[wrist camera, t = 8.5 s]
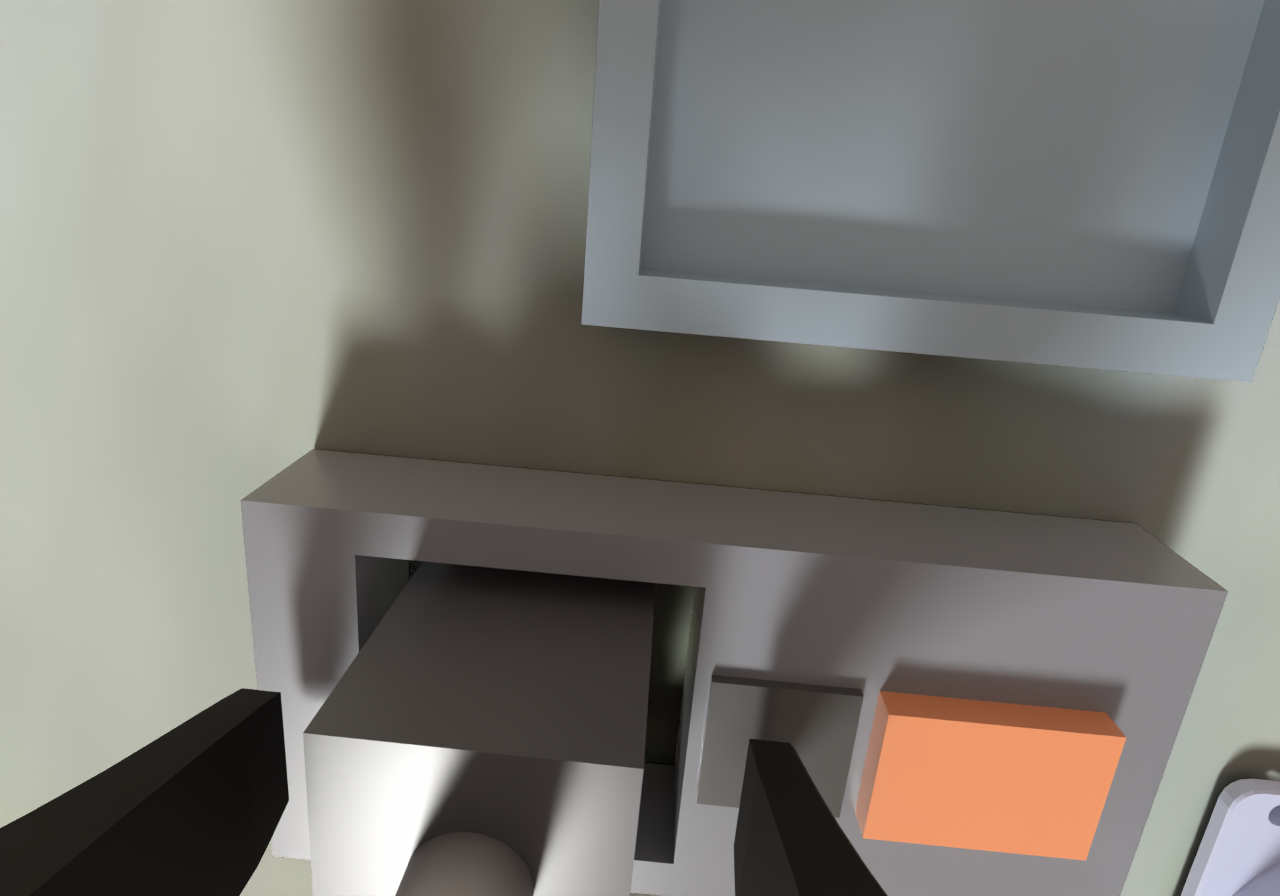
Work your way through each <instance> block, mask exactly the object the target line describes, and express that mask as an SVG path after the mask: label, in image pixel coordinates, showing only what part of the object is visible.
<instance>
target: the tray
mask: <svg viewBox="0 0 1280 896" xmlns="http://www.w3.org/2000/svg"><path fill="white" fill-rule="evenodd" d="M1279 299H1280V0H599V14H598V32H597V50H596V69H595V87H594V105H593V124H592V142H591V160H590V179H589V197H588V215H587V234H586V252H585V270H584V288H583V307H582V325H593V326H605V327H616V328H628V329H639V330H651V331H662V332H674V333H686V334H697V335H709V336H720V337H732V338H743V339H755V340H767V341H778V342H790V343H801V344H813V345H824V346H836V347H848V348H859V349H871V350H882V351H894V352H905V353H917V354H929V355H940V356H952V357H963V358H975V359H987V360H998V361H1010V362H1021V363H1033V364H1044V365H1056V366H1068V367H1079V368H1091V369H1102V370H1114V371H1125V372H1137V373H1149V374H1160V375H1172V376H1183V377H1195V378H1206V379H1218V380H1230V381H1241V382H1252V380H1253V377H1254V374H1255V371H1256V368H1257V365H1258V362H1259V359H1260V356H1261V353H1262V350H1263V347H1264V344H1265V341H1266V338H1267V335H1268V332H1269V329H1270V326H1271V323H1272V320H1273V317H1274V314H1275V311H1276V308H1277V305H1278V302H1279Z"/></svg>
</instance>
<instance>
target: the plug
mask: <svg viewBox="0 0 1280 896" xmlns="http://www.w3.org/2000/svg"><path fill="white" fill-rule="evenodd" d="M655 587H656V583H650V582H639V581H629V580H618V579H607V578H597V577H586V576H575V575H565V574H554V573H543V572H532V571H522V570H511V569H500V568H490V567H479V566H468V565H457V564H447V563H436V562H425V561H422V562H421V564H420V565H419V567H418V568H417V570H416V571H415V573H414V574H413V575H412V577H411V578H410V580H409V581H408V583H407V584H406V585H405V587H404V588H403V590H402V591H401V593H400V594H399V596H398V597H397V598H396V600H395V601H394V603H393V604H392V606H391V607H390V609H389V610H388V611H387V613H386V614H385V616H384V617H383V619H382V620H381V621H380V623H379V624H378V626H377V627H376V629H375V630H374V632H373V633H372V634H371V636H370V637H369V639H368V640H367V642H366V643H365V645H364V646H363V647H362V649H361V650H360V652H359V653H358V655H357V656H356V657H355V659H354V660H353V662H352V663H351V665H350V666H349V668H348V669H347V670H346V672H345V673H344V675H343V676H342V678H341V679H340V680H339V682H338V683H337V685H336V686H335V688H334V689H333V691H332V692H331V693H330V695H329V696H328V698H327V699H326V701H325V702H324V704H323V705H322V706H321V708H320V709H319V711H318V712H317V714H316V715H315V716H314V718H313V719H312V721H311V722H310V724H309V725H308V727H307V728H306V729H305V731H304V732H303V742H304V759H305V775H306V792H307V808H308V825H309V841H310V858H311V874H312V891H313V896H630V893H631V883H632V874H633V865H634V855H635V846H636V836H637V827H638V818H639V808H640V799H641V789H642V780H643V771H644V756H645V741H646V725H647V710H648V695H649V679H650V664H651V648H652V633H653V617H654V602H655Z"/></svg>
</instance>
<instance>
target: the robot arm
mask: <svg viewBox="0 0 1280 896" xmlns="http://www.w3.org/2000/svg"><path fill="white" fill-rule="evenodd" d="M288 802H289V791H288V778H287V765H286V753H285V740H284V727H283V714H282V702H281V692H272V691H262V690H252V689H240V690H238V691H236V692H235V693H233V694H231V695H229V696H227V697H226V698H224V699H222V700H220V701H219V702H217V703H215V704H214V705H212V706H210V707H209V708H207V709H205V710H204V711H202V712H201V713H199V714H197V715H196V716H194V717H192V718H191V719H189V720H187V721H186V722H184V723H183V724H181V725H179V726H178V727H176V728H174V729H173V730H171V731H170V732H168V733H166V734H165V735H163V736H161V737H160V738H158V739H157V740H155V741H153V742H152V743H150V744H148V745H147V746H145V747H143V748H142V749H140V750H138V751H137V752H135V753H133V754H132V755H130V756H128V757H127V758H125V759H123V760H122V761H120V762H118V763H117V764H115V765H114V766H112V767H110V768H108V769H107V770H105V771H103V772H102V773H100V774H98V775H96V776H94V777H93V778H91V779H89V780H87V781H86V782H84V783H82V784H80V785H78V786H77V787H75V788H73V789H71V790H69V791H68V792H66V793H64V794H62V795H61V796H59V797H57V798H55V799H53V800H52V801H50V802H48V803H46V804H45V805H43V806H41V807H39V808H37V809H36V810H34V811H32V812H30V813H28V814H27V815H25V816H23V817H21V818H19V819H17V820H15V821H13V822H11V823H9V824H8V825H6V826H4V827H2V828H0V896H239V895H240V894H241V892H242V890H243V889H244V887H245V886H246V884H247V882H248V881H249V879H250V878H251V876H252V874H253V873H254V871H255V869H256V868H257V866H258V864H259V862H260V860H261V858H262V856H263V854H264V852H265V850H266V848H267V846H268V844H269V842H270V840H271V838H272V836H273V834H274V832H275V830H276V828H277V825H278V823H279V821H280V819H281V817H282V815H283V812H284V810H285V808H286V806H287V804H288ZM1278 805H1279V806H1278ZM1276 806H1278V807H1276ZM1274 807H1276V808H1274ZM1273 808H1274V809H1273ZM734 878H735V896H888V895H887V894H886V893H885V891H884V890H883V889H882V887H881V886H880V884H879V883H878V882H877V880H876V879H875V877H874V876H873V875H872V873H871V872H870V870H869V869H868V867H867V866H866V865H865V863H864V862H863V860H862V859H861V857H860V856H859V854H858V853H857V851H856V850H855V848H854V847H853V845H852V844H851V842H850V841H849V839H848V838H847V836H846V835H845V833H844V832H843V830H842V829H841V827H840V825H839V824H838V822H837V821H836V819H835V817H834V816H833V814H832V813H831V811H830V809H829V808H828V806H827V804H826V803H825V801H824V799H823V798H822V796H821V794H820V793H819V791H818V789H817V787H816V786H815V784H814V782H813V781H812V779H811V777H810V775H809V773H808V772H807V770H806V768H805V766H804V764H803V763H802V761H801V759H800V757H799V755H798V753H797V751H796V750H795V748H794V747H793V746H792V745H791V744H790V743H788V742H777V741H767V740H757V739H749V745H748V752H747V758H746V765H745V772H744V779H743V786H742V792H741V799H740V806H739V813H738V820H737V826H736V833H735V840H734ZM1181 896H1280V781H1271V780H1261V779H1241V780H1238V781H1235V782H1232V783H1231V784H1229V785H1228V786H1227V787H1225V788H1224V789H1223V791H1222V792H1221V794H1220V796H1219V798H1218V800H1217V803H1216V805H1215V808H1214V811H1213V813H1212V816H1211V818H1210V821H1209V823H1208V826H1207V829H1206V831H1205V834H1204V836H1203V839H1202V842H1201V844H1200V847H1199V849H1198V852H1197V855H1196V857H1195V860H1194V862H1193V865H1192V867H1191V870H1190V873H1189V875H1188V878H1187V880H1186V883H1185V886H1184V888H1183V891H1182V893H1181Z"/></svg>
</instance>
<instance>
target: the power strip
mask: <svg viewBox="0 0 1280 896" xmlns="http://www.w3.org/2000/svg"><path fill="white" fill-rule="evenodd" d="M241 510H242V522H243V533H244V544H245V555H246V566H247V577H248V588H249V599H250V611H251V622H252V633H253V644H254V655H255V666H256V677H257V688H258V690H262V691H272V692H281V702H282V714H283V727H284V740H285V753H286V765H287V778H288V791H289V802H288V804H287V806H286V808H285V810H284V812H283V815H282V817H281V819H280V821H279V823H278V825H277V828H276V830H275V832H274V834H273V836H272V838H271V844H272V855H273V856H277V857H287V858H297V859H307V860H311V858H310V841H309V825H308V808H307V792H306V775H305V759H304V742H303V732H304V731H305V729H306V728H307V727H308V725H309V724H310V722H311V721H312V719H313V718H314V716H315V715H316V714H317V712H318V711H319V709H320V708H321V706H322V705H323V704H324V702H325V701H326V699H327V698H328V696H329V695H330V693H331V692H332V691H333V689H334V688H335V686H336V685H337V683H338V682H339V680H340V679H341V678H342V676H343V675H344V673H345V672H346V670H347V669H348V668H349V666H350V665H351V663H352V662H353V660H354V659H355V657H356V656H357V655H358V653H359V652H360V650H361V649H362V647H363V646H364V645H365V643H366V642H367V640H368V639H369V637H370V636H371V634H372V633H373V632H374V630H375V629H376V627H377V626H378V624H379V623H380V621H381V620H382V619H383V617H384V616H385V614H386V613H387V611H388V610H389V609H390V607H391V606H392V604H393V603H394V601H395V600H396V598H397V597H398V596H399V594H400V593H401V591H402V590H403V588H404V587H405V585H406V584H407V583H408V581H409V560H415V561H425V562H436V563H447V564H457V565H468V566H479V567H490V568H500V569H511V570H522V571H532V572H543V573H554V574H565V575H575V576H586V577H597V578H607V579H618V580H629V581H639V582H650V583H661V584H672V585H682V586H693V587H695V588H694V596H693V605H692V614H691V623H690V632H689V641H688V650H687V659H686V668H685V677H684V686H683V694H682V703H681V712H680V721H679V730H678V739H677V748H676V757H675V766H673V765H663V764H653V763H644V771H643V780H642V789H641V799H640V808H639V818H638V827H637V836H636V846H635V855H634V865H633V874H632V883H631V893H640V894H650V895H660V896H735V878H734V840H735V833H736V826H737V820H738V813H739V806H740V799H741V792H742V786H743V779H744V772H745V765H746V758H747V752H748V745H749V739H757V740H767V741H777V742H788V743H790V744H791V745H792V746H793V747H794V748H795V750H796V751H797V753H798V755H799V757H800V759H801V761H802V763H803V764H804V766H805V768H806V770H807V772H808V773H809V775H810V777H811V779H812V781H813V782H814V784H815V786H816V787H817V789H818V791H819V793H820V794H821V796H822V798H823V799H824V801H825V803H826V804H827V806H828V808H829V809H830V811H831V813H832V814H833V816H834V817H835V819H836V821H837V822H838V824H839V825H840V827H841V829H842V830H843V832H844V833H845V835H846V836H847V838H848V839H849V841H850V842H851V844H852V845H853V847H854V848H855V850H856V851H857V853H858V854H859V856H860V857H861V859H862V860H863V862H864V863H865V865H866V866H867V867H868V869H869V870H870V872H871V873H872V875H873V876H874V877H875V879H876V880H877V882H878V883H879V884H880V886H881V887H882V889H883V890H884V891H885V893H886V894H887V895H888V896H1120V895H1121V892H1122V889H1123V886H1124V883H1125V881H1126V878H1127V875H1128V872H1129V869H1130V866H1131V864H1132V861H1133V858H1134V855H1135V852H1136V850H1137V847H1138V844H1139V841H1140V838H1141V835H1142V833H1143V830H1144V827H1145V824H1146V821H1147V818H1148V816H1149V813H1150V810H1151V807H1152V804H1153V802H1154V799H1155V796H1156V793H1157V790H1158V787H1159V785H1160V782H1161V779H1162V776H1163V773H1164V771H1165V768H1166V765H1167V762H1168V759H1169V756H1170V754H1171V751H1172V748H1173V745H1174V742H1175V740H1176V737H1177V734H1178V731H1179V728H1180V725H1181V723H1182V720H1183V717H1184V714H1185V711H1186V709H1187V706H1188V703H1189V700H1190V697H1191V694H1192V692H1193V689H1194V686H1195V683H1196V680H1197V677H1198V675H1199V672H1200V669H1201V666H1202V663H1203V661H1204V658H1205V655H1206V652H1207V649H1208V646H1209V644H1210V641H1211V638H1212V635H1213V632H1214V630H1215V627H1216V624H1217V621H1218V618H1219V615H1220V613H1221V610H1222V607H1223V604H1224V601H1225V599H1226V596H1227V593H1228V591H1227V590H1225V589H1224V588H1223V587H1221V586H1220V585H1219V584H1217V583H1216V582H1215V581H1213V580H1212V579H1211V578H1209V577H1208V576H1206V575H1205V574H1204V573H1202V572H1201V571H1200V570H1198V569H1197V568H1196V567H1194V566H1193V565H1192V564H1190V563H1189V562H1187V561H1186V560H1185V559H1183V558H1182V557H1181V556H1179V555H1178V554H1177V553H1175V552H1174V551H1173V550H1171V549H1170V548H1168V547H1167V546H1166V545H1164V544H1163V543H1162V542H1160V541H1159V540H1158V539H1156V538H1155V537H1154V536H1152V535H1151V534H1149V533H1148V532H1147V531H1145V530H1144V529H1143V528H1141V527H1140V526H1139V525H1137V524H1134V523H1123V522H1112V521H1101V520H1090V519H1079V518H1068V517H1056V516H1045V515H1034V514H1023V513H1012V512H1001V511H990V510H979V509H968V508H957V507H946V506H935V505H924V504H913V503H902V502H891V501H880V500H869V499H858V498H847V497H836V496H824V495H813V494H802V493H791V492H780V491H769V490H758V489H747V488H736V487H725V486H714V485H703V484H692V483H681V482H670V481H659V480H648V479H637V478H626V477H615V476H604V475H592V474H581V473H570V472H559V471H548V470H537V469H526V468H515V467H504V466H493V465H482V464H471V463H460V462H449V461H438V460H427V459H416V458H405V457H394V456H383V455H372V454H360V453H349V452H338V451H327V450H316V449H312V450H311V451H309V452H308V453H307V454H305V455H304V456H302V457H301V458H300V459H298V460H297V461H295V462H294V463H293V464H291V465H290V466H288V467H287V468H286V469H284V470H283V471H281V472H280V473H278V474H277V475H276V476H274V477H273V478H271V479H270V480H269V481H267V482H266V483H264V484H263V485H262V486H260V487H259V488H257V489H256V490H255V491H253V492H252V493H250V494H249V495H248V496H246V497H245V498H243V499H242V500H241Z"/></svg>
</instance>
